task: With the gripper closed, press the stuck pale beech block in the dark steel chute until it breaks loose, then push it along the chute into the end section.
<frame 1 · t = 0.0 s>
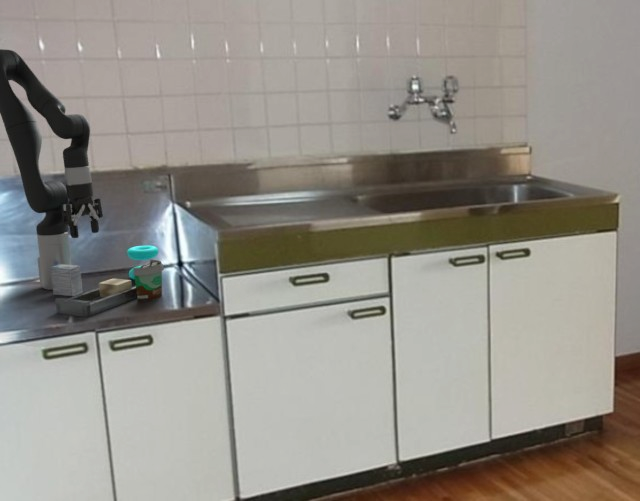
hand: (85, 235, 225), 17 cm above the table, tool pointing down, fingers open, 8 cm apart
donuts: (144, 278, 242), on the table
chute: (102, 303, 212), on the table
food container: (154, 297, 218), on the table
beech block: (115, 288, 217), point 3 cm above the table, slide at 0.0 cm
medicine box: (68, 294, 224), on the table
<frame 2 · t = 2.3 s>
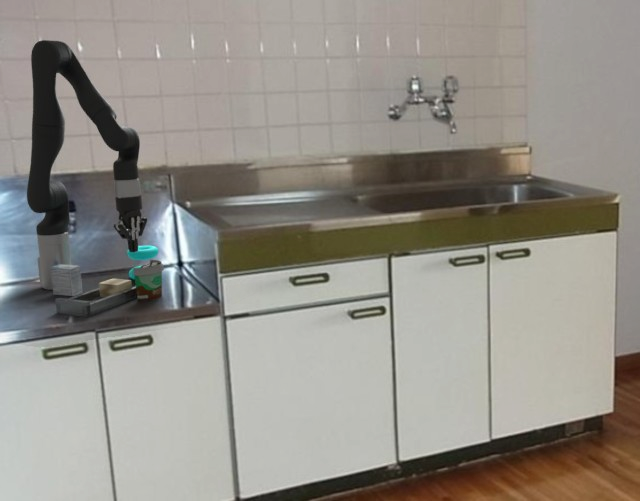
hand: (133, 251, 223), 12 cm above the table, tool pointing down, fingers closed
nothing on the table moved.
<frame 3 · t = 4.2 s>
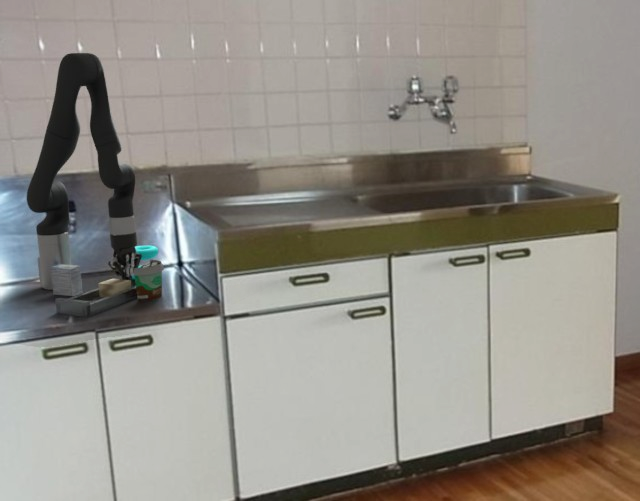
hand: (127, 288, 222), 2 cm above the table, tool pointing down, fingers closed
beech block: (115, 288, 217), point 3 cm above the table, slide at 0.2 cm, touching gripper
everything else where it was.
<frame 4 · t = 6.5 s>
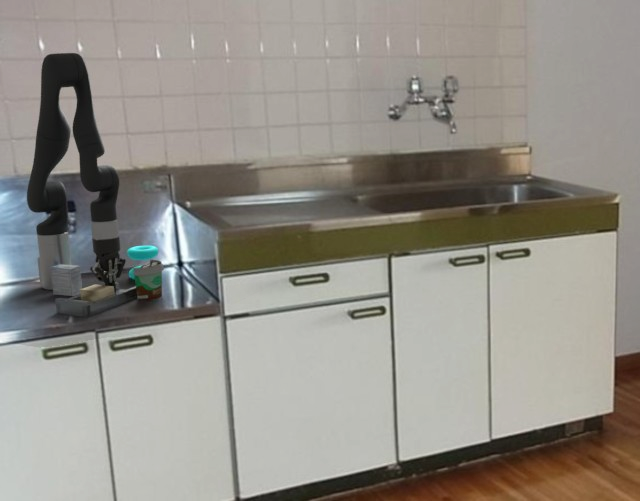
hand: (111, 294, 215), 2 cm above the table, tool pointing down, fingers closed
beech block: (97, 294, 210), point 3 cm above the table, slide at 7.5 cm, touching gripper
everything else where it was.
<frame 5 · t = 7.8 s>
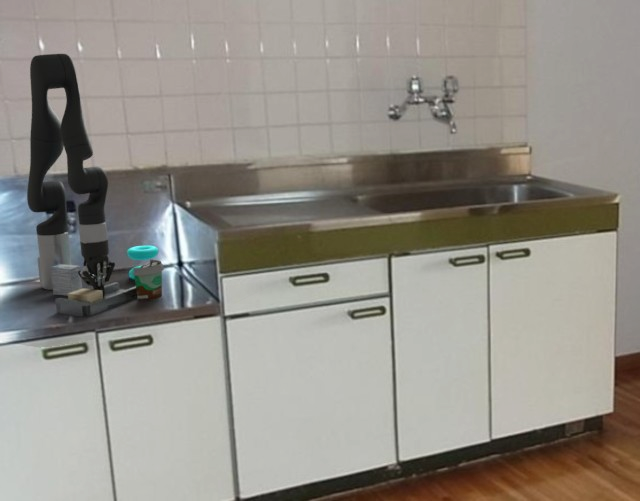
hand: (99, 298, 211), 2 cm above the table, tool pointing down, fingers closed
beech block: (85, 298, 206), point 3 cm above the table, slide at 12.3 cm, touching gripper
everything else where it was.
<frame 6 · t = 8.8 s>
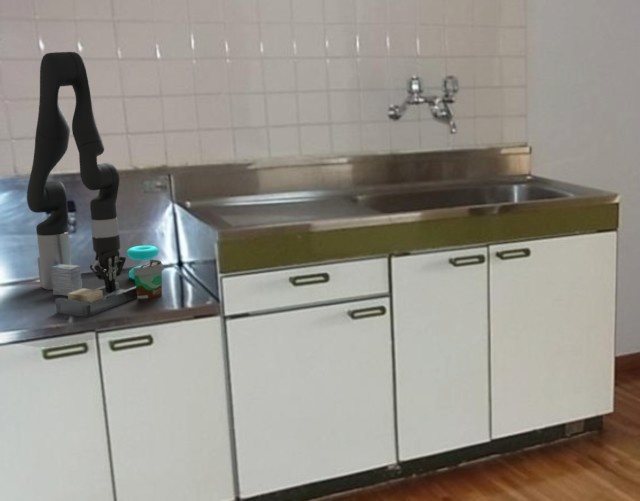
hand: (110, 292, 215), 2 cm above the table, tool pointing down, fingers closed
beech block: (85, 298, 206), point 3 cm above the table, slide at 12.3 cm
everything else where it was.
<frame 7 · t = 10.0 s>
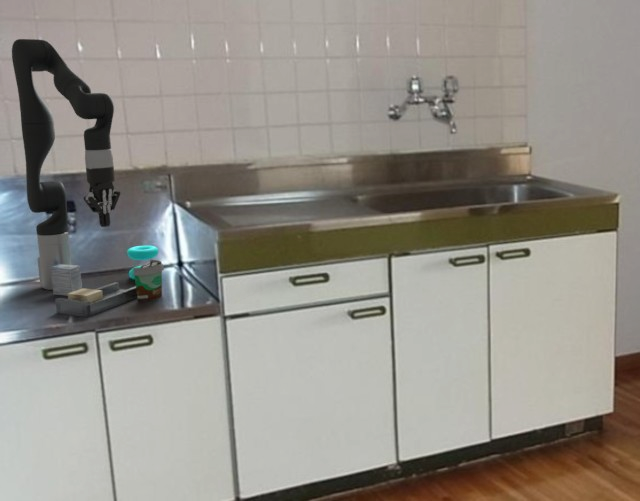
hand: (105, 226, 211), 22 cm above the table, tool pointing down, fingers closed
nothing on the table moved.
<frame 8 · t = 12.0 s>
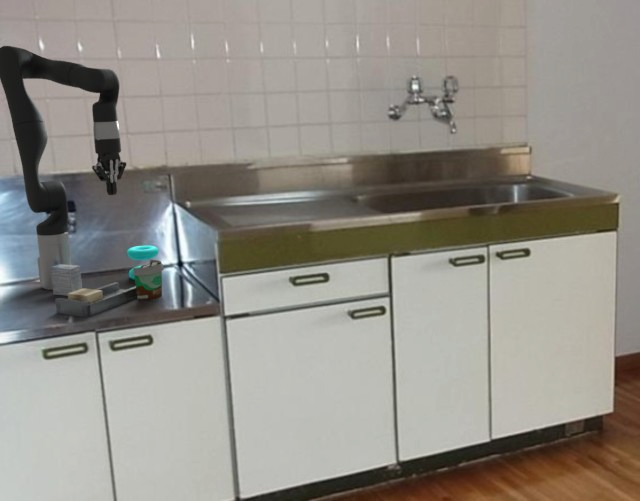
hand: (112, 194, 225), 29 cm above the table, tool pointing down, fingers closed
nothing on the table moved.
at the end: beech block slide at 12.3 cm; the gripper is holding nothing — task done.
